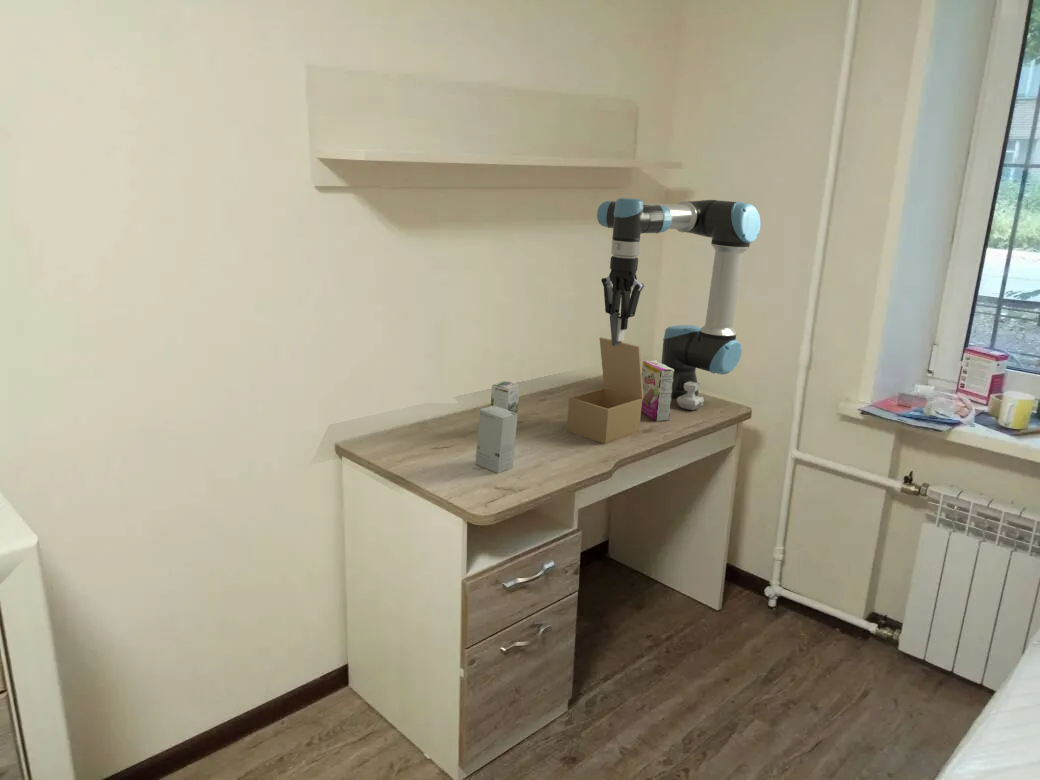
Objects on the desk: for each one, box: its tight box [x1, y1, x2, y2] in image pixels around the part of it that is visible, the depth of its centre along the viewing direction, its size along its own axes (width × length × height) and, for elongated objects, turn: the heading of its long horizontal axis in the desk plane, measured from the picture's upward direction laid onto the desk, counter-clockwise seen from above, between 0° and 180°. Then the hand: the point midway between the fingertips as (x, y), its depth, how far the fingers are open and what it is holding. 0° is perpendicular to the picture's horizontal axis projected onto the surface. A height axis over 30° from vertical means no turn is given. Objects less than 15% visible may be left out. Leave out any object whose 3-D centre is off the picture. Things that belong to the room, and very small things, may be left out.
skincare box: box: [475, 405, 519, 474], centre depth 198 cm, size 8×6×15 cm
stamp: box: [676, 381, 705, 411], centre depth 254 cm, size 9×7×8 cm
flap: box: [599, 312, 643, 399], centre depth 226 cm, size 25×14×3 cm
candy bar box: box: [640, 359, 674, 422], centre depth 243 cm, size 11×5×16 cm, turn 22°
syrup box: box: [490, 380, 520, 431], centre depth 221 cm, size 6×6×14 cm
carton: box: [566, 387, 642, 445], centre depth 228 cm, size 16×14×10 cm
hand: (617, 339), depth 224 cm, fingers closed on flap
